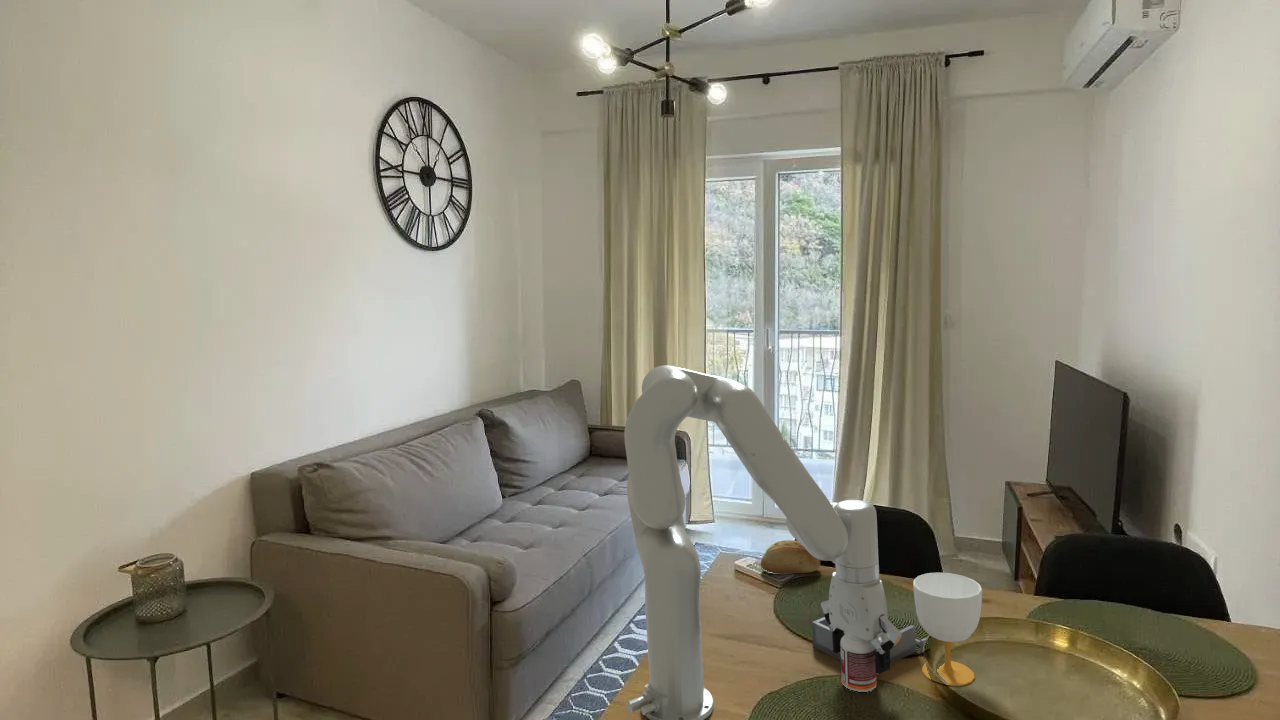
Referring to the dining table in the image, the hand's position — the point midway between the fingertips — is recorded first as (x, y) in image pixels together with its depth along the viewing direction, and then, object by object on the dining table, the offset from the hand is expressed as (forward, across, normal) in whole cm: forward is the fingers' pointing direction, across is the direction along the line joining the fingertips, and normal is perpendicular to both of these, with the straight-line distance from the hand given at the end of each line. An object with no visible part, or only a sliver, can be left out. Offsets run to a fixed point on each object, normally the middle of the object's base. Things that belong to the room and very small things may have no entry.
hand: (861, 660), depth 134 cm
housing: (+5, -8, +12) cm, 15 cm away
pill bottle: (+5, 0, 0) cm, 5 cm away
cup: (+5, +7, +15) cm, 17 cm away
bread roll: (+5, -45, +28) cm, 53 cm away
